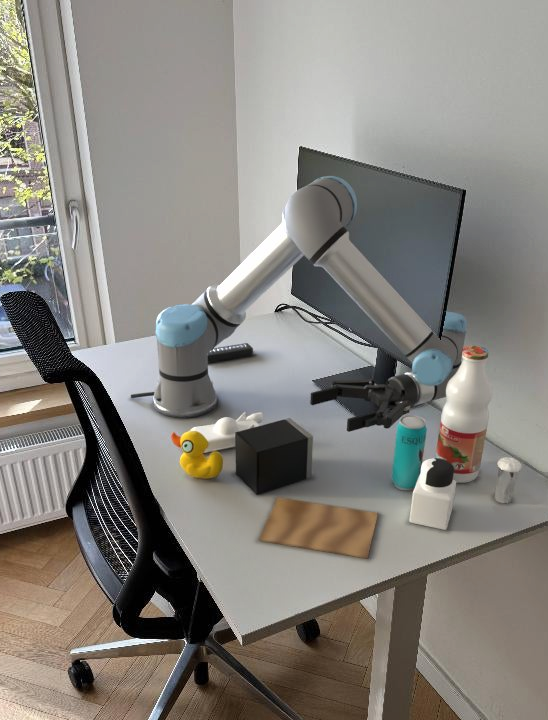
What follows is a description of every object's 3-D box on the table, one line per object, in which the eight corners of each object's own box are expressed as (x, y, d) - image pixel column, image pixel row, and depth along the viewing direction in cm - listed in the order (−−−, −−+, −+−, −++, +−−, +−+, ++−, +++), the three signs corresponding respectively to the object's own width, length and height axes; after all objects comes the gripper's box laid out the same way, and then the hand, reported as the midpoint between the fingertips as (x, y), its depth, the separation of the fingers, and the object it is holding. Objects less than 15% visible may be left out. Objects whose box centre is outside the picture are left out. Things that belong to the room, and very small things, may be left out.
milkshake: (514, 509, 149) (523, 466, 144) (487, 500, 151) (495, 458, 146) (521, 498, 152) (530, 456, 147) (495, 490, 155) (503, 448, 150)
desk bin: (288, 458, 164) (289, 417, 159) (311, 477, 157) (313, 436, 152) (235, 474, 158) (235, 432, 153) (256, 495, 151) (256, 452, 146)
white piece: (176, 437, 170) (174, 414, 167) (259, 424, 177) (259, 401, 174) (187, 460, 162) (186, 436, 159) (275, 445, 168) (275, 422, 165)
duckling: (167, 475, 156) (164, 433, 151) (179, 463, 161) (177, 422, 156) (216, 487, 153) (215, 445, 148) (228, 474, 157) (227, 433, 152)
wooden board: (259, 540, 138) (259, 538, 138) (277, 499, 150) (277, 497, 150) (367, 558, 134) (367, 556, 134) (377, 514, 146) (378, 512, 146)
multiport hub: (253, 355, 211) (253, 348, 210) (204, 364, 205) (204, 356, 204) (247, 350, 214) (247, 342, 213) (199, 358, 209) (198, 350, 208)
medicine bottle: (451, 510, 148) (460, 458, 142) (446, 531, 142) (454, 477, 136) (415, 503, 150) (422, 451, 144) (408, 523, 144) (415, 469, 138)
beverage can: (418, 494, 153) (426, 429, 145) (389, 490, 154) (397, 425, 146) (419, 479, 158) (428, 415, 150) (392, 475, 158) (399, 412, 151)
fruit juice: (487, 480, 158) (510, 356, 144) (447, 487, 155) (467, 362, 141) (464, 457, 166) (483, 338, 151) (425, 464, 163) (442, 343, 149)
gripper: (444, 428, 160) (363, 453, 150) (373, 384, 178) (297, 404, 169) (448, 396, 156) (366, 420, 147) (375, 354, 175) (297, 373, 165)
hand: (328, 411), depth 158 cm, fingers open, 13 cm apart
